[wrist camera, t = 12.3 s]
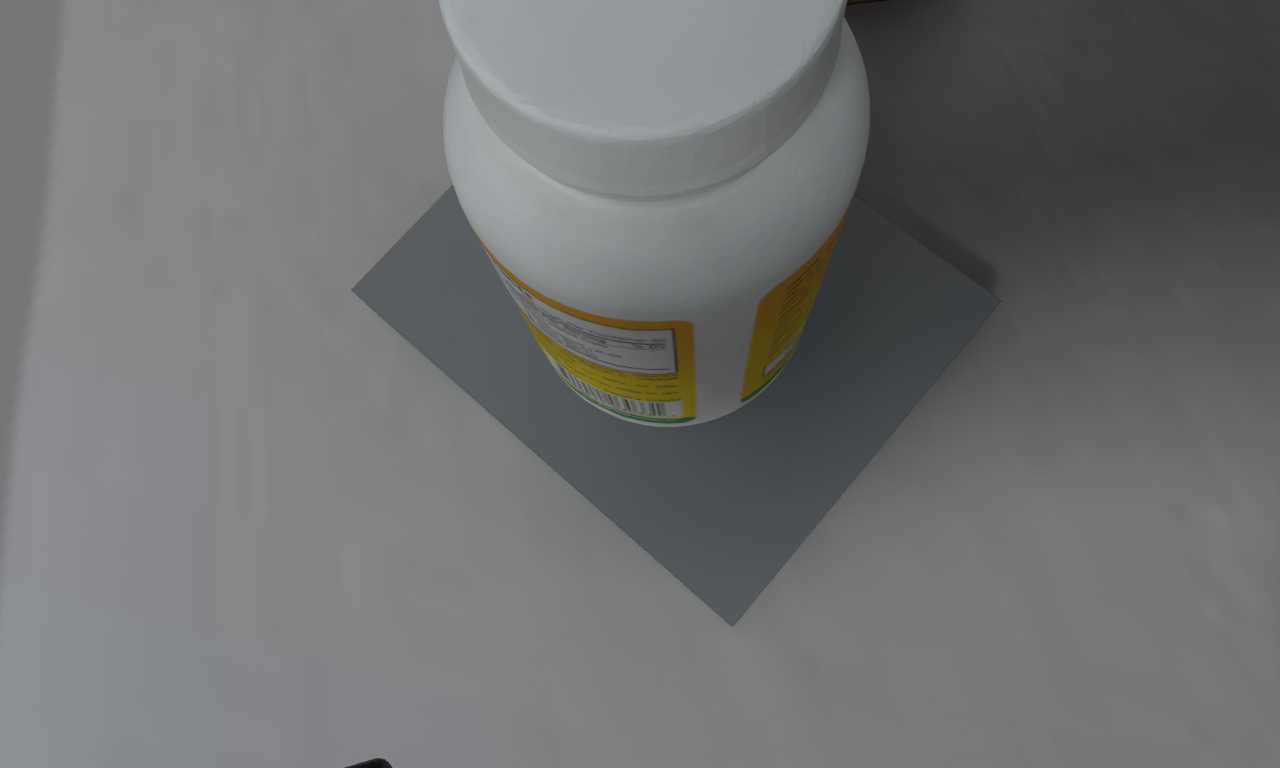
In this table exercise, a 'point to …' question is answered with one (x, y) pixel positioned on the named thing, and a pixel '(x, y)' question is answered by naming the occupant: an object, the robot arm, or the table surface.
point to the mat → (718, 449)
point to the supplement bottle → (657, 183)
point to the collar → (857, 0)
